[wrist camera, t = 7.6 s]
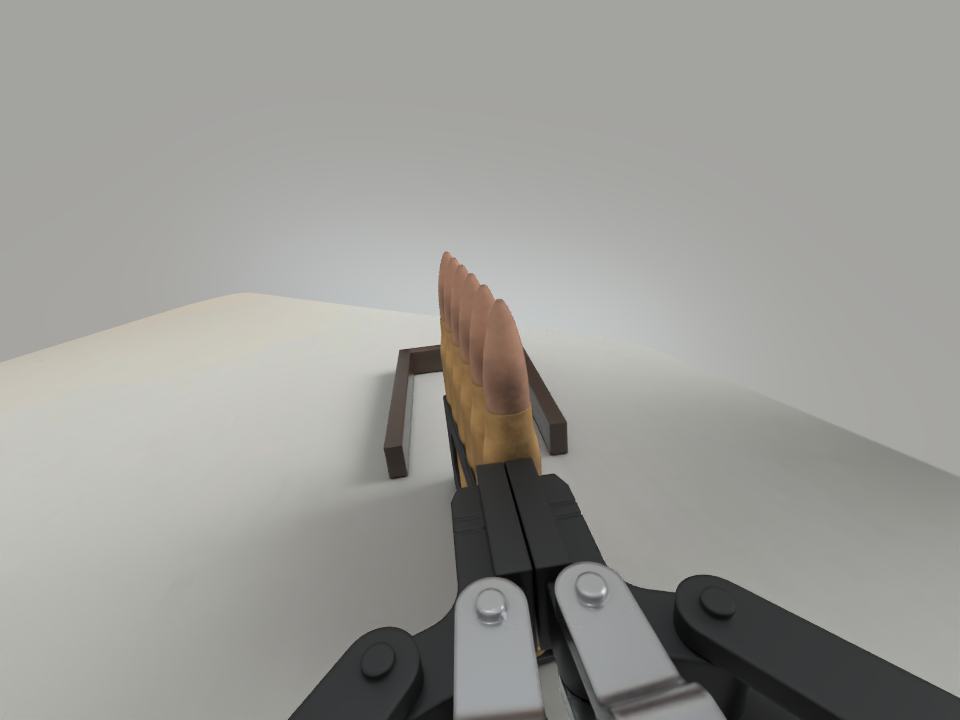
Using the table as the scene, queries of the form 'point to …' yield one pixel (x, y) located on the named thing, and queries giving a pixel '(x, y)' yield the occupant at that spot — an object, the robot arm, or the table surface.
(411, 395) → the frame
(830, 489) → the table surface
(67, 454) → the table surface
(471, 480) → the ammunition clip
